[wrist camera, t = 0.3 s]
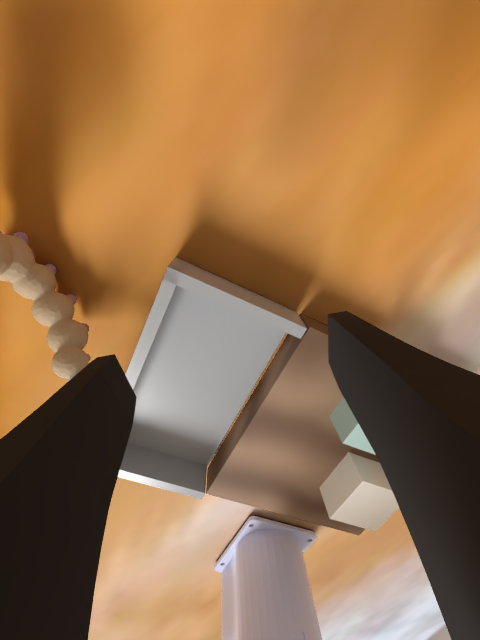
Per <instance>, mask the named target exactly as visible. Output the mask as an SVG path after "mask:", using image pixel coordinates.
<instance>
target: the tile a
mask: <svg viewBox="0 0 480 640" xmlns="http://www.w3.org/2000/svg"><path fill="white" fill-rule="evenodd" d="M320 491H321V494H322V497H323V500H324V503H325V506H326V509H327V512H328V515H329V518H330V519H332V520H336V521H340V522H343V523H347V524H350V525H354V526H357V527H361V528H364V529H368V530H372V531H375V532H376V531H377V530H378V529H379V528H380V527H381V526H382V525H383V524H384V523H385V522H386V521H387V520H388V519H389V518H390V517H391V516H392V515H393V514H394V513H395V512H396V510H397V509H398V508H399V505H398V503H397V501H396V498H395V496H394V494H393V491H392V489H391V487H390V485H389V482H388V480H387V478H386V476H385V473H384V471H383V469H382V467H381V464H380V463H379V462H376V461H373V460H370V459H367V458H364V457H361V456H358V455H356V454H353V453H350V452H348V453H347V454H346V456H345V457H344V458H343V459H342V461H341V462H340V463H339V464H338V466H337V467H336V468H335V469H334V470H333V472H332V473H331V474H330V475H329V477H328V478H327V479H326V480H325V481H324V483H323V484H322V485H321V486H320Z"/></svg>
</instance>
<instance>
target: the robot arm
mask: <svg viewBox="0 0 480 640" xmlns="http://www.w3.org/2000/svg"><path fill="white" fill-rule="evenodd" d="M328 362H329V365H330V367H331V370H332V373H333V375H334V378H335V380H336V382H337V385H338V387H339V389H340V391H341V393H342V395H343V397H344V398H345V400H346V402H347V404H348V406H349V408H350V409H351V411H352V413H353V415H354V416H355V418H356V420H357V422H358V424H359V425H360V427H361V429H362V431H363V432H364V434H365V436H366V438H367V440H368V441H369V443H370V445H371V447H372V448H373V450H374V452H375V454H376V456H377V458H378V460H379V462H380V464H381V467H382V469H383V471H384V473H385V476H386V478H387V480H388V482H389V485H390V487H391V489H392V491H393V494H394V496H395V498H396V501H397V503H398V505H399V508H400V510H401V513H402V515H403V517H404V520H405V522H406V524H407V527H408V529H409V531H410V534H411V536H412V539H413V541H414V544H415V546H416V549H417V551H418V554H419V556H420V559H421V561H422V564H423V566H424V569H425V571H426V574H427V576H428V579H429V581H430V584H431V587H432V589H433V592H434V594H435V597H436V600H437V602H438V605H439V608H440V610H441V613H442V616H443V618H444V621H445V623H446V626H447V628H448V631H449V634H450V637H451V639H452V640H480V375H478V374H475V373H473V372H470V371H468V370H465V369H462V368H460V367H457V366H455V365H452V364H450V363H448V362H445V361H443V360H441V359H438V358H436V357H434V356H432V355H430V354H428V353H426V352H423V351H421V350H419V349H417V348H415V347H413V346H411V345H409V344H407V343H405V342H403V341H401V340H399V339H397V338H395V337H393V336H391V335H390V334H388V333H386V332H384V331H382V330H380V329H379V328H377V327H375V326H373V325H371V324H370V323H368V322H366V321H364V320H362V319H361V318H359V317H357V316H355V315H353V314H351V313H349V312H347V311H344V312H339V313H334V314H328ZM136 398H137V397H136V395H135V393H134V391H133V389H132V387H131V385H130V383H129V381H128V379H127V377H126V376H125V374H124V372H123V370H122V368H121V366H120V364H119V362H118V360H117V358H116V356H115V354H114V355H109V356H103V357H98V358H96V359H94V360H93V361H92V362H90V363H89V364H88V365H87V366H86V367H84V368H83V369H82V370H81V371H80V372H79V373H77V374H76V375H75V376H74V377H73V378H72V379H71V380H69V381H68V382H67V383H66V384H65V385H64V386H63V387H62V388H60V389H59V390H58V391H57V392H56V393H55V394H54V395H53V396H51V397H50V398H49V399H48V400H47V401H46V402H45V403H44V404H42V405H41V406H40V407H39V408H38V409H37V410H35V411H34V412H33V413H32V414H31V415H29V416H28V417H27V418H26V419H25V420H23V421H22V422H21V423H20V424H19V425H17V426H16V427H15V428H14V429H13V430H11V431H10V432H9V433H8V434H7V435H5V436H4V437H3V438H1V439H0V640H88V632H89V625H90V618H91V610H92V603H93V596H94V588H95V582H96V576H97V570H98V564H99V558H100V552H101V546H102V541H103V536H104V530H105V525H106V520H107V515H108V510H109V506H110V502H111V498H112V494H113V490H114V487H115V484H116V480H117V477H118V474H119V470H120V467H121V464H122V460H123V457H124V453H125V450H126V447H127V443H128V440H129V436H130V433H131V429H132V425H133V420H134V414H135V406H136ZM316 537H317V536H316V533H315V532H313V531H310V530H306V529H302V528H298V527H295V526H291V525H287V524H283V523H280V522H276V521H272V520H268V519H265V518H261V517H257V516H251V517H249V518H248V520H247V521H246V523H245V524H244V525H243V527H242V528H241V529H240V531H239V532H238V534H237V535H236V536H235V538H234V539H233V540H232V542H231V543H230V544H229V546H228V547H227V549H226V550H225V551H224V553H223V554H222V555H221V557H220V558H219V560H218V561H217V562H216V564H215V565H214V570H215V571H217V572H222V640H322V637H321V632H320V628H319V623H318V619H317V615H316V610H315V606H314V601H313V597H312V592H311V588H310V583H309V579H308V574H307V570H306V566H305V561H304V557H303V553H304V551H305V550H306V549H307V548H308V547H309V546H310V545H311V544H312V542H313V541H314V540H315V539H316Z"/></svg>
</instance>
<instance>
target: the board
mask: <svg viewBox="0 0 480 640" xmlns="http://www.w3.org/2000/svg"><path fill="white" fill-rule="evenodd" d="M299 317H300V318H301V320H302V321H303V323H304V325H305V326H306V328H307V330H306V331H305V333H304V334H303V336H302V338H301V339H300V338H297V337H295V336H293V335H290V334H288V336H287V337H286V339H285V341H284V342H283V344H282V346H281V347H280V349H279V351H278V352H277V354H276V356H275V357H274V359H273V361H272V362H271V364H270V366H269V367H268V369H267V371H266V372H265V374H264V376H263V377H262V379H261V381H260V382H259V384H258V386H257V387H256V389H255V391H254V392H253V394H252V396H251V397H250V399H249V401H248V402H247V404H246V406H245V407H244V409H243V411H242V412H241V414H240V416H239V417H238V419H237V421H236V422H235V424H234V426H233V427H232V429H231V431H230V432H229V434H228V436H227V437H226V439H225V441H224V442H223V444H222V446H221V447H220V449H219V451H218V452H217V454H216V456H215V457H214V459H213V461H212V463H211V464H210V466H209V468H208V471H207V488H206V494H209V495H213V496H217V497H220V498H224V499H228V500H231V501H235V502H239V503H242V504H246V505H250V506H253V507H257V508H261V509H264V510H268V511H272V512H275V513H279V514H282V515H286V516H290V517H293V518H297V519H301V520H304V521H308V522H312V523H315V524H319V525H323V526H326V527H330V528H334V529H337V530H341V531H345V532H348V533H352V534H356V535H360V534H361V533H362V532H363V531H364V530H365V529H364V528H361V527H357V526H354V525H350V524H347V523H343V522H340V521H336V520H332V519H330V518H329V515H328V512H327V509H326V506H325V503H324V500H323V497H322V494H321V491H320V486H321V485H322V484H323V483H324V481H325V480H326V479H327V478H328V477H329V475H330V474H331V473H332V472H333V470H334V469H335V468H336V467H337V466H338V464H339V463H340V462H341V461H342V459H343V458H344V457H345V456H346V454H347V453H348V452H350V453H353V454H356V455H358V456H361V457H364V458H367V459H370V460H373V461H376V462H379V460H378V458H377V456H376V455H374V454H372V453H369V452H366V451H363V450H360V449H357V448H355V447H352V446H349V445H346V444H343V443H342V441H341V439H340V437H339V435H338V433H337V431H336V429H335V427H334V425H333V423H332V421H331V419H330V417H329V416H330V415H331V413H332V412H333V411H334V409H335V408H336V406H337V405H338V404H339V402H340V401H341V400H342V398H343V395H342V393H341V391H340V389H339V387H338V385H337V382H336V380H335V378H334V375H333V373H332V370H331V367H330V365H329V362H328V326H327V325H325V324H323V323H320V322H318V321H316V320H314V319H312V318H309V317H307V316H305V315H303V314H300V315H299ZM379 463H380V462H379Z"/></svg>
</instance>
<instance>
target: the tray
mask: <svg viewBox="0 0 480 640" xmlns="http://www.w3.org/2000/svg"><path fill="white" fill-rule="evenodd" d="M306 330H307V328H306V326H305V325H304V323H303V321H302V320H301V318H300V317H299V315H298V314H297V312H296V311H294V310H292V309H290V308H287V307H285V306H283V305H281V304H279V303H276V302H274V301H272V300H270V299H268V298H266V297H263V296H261V295H259V294H257V293H255V292H252V291H250V290H248V289H246V288H244V287H241V286H239V285H237V284H235V283H233V282H230V281H228V280H226V279H224V278H222V277H219V276H217V275H215V274H213V273H211V272H208V271H206V270H204V269H202V268H200V267H197V266H195V265H193V264H191V263H189V262H186V261H184V260H182V259H180V258H178V257H175V259H174V260H173V261H172V262H171V264H170V265H169V266H168V268H167V270H166V273H165V276H164V278H163V281H162V283H161V286H160V288H159V291H158V293H157V296H156V298H155V301H154V304H153V306H152V309H151V311H150V314H149V316H148V319H147V321H146V324H145V326H144V329H143V331H142V334H141V337H140V339H139V342H138V344H137V347H136V349H135V352H134V354H133V357H132V359H131V362H130V365H129V367H128V370H127V372H126V375H125V376H126V377H127V379H128V381H129V383H130V385H131V387H132V389H133V391H134V393H135V395H136V397H137V398H136V406H135V414H134V420H133V425H132V429H131V433H130V436H129V440H128V443H127V447H126V450H125V453H124V457H123V460H122V464H121V467H120V470H119V474H118V477H120V478H124V479H127V480H131V481H135V482H139V483H142V484H146V485H150V486H154V487H157V488H161V489H165V490H169V491H172V492H176V493H180V494H183V495H187V496H191V497H195V498H198V499H202V497H203V496H204V494H205V487H206V471H207V465H208V463H209V461H210V460H211V458H212V456H213V454H214V453H215V451H216V449H217V448H218V446H219V444H220V443H221V441H222V439H223V438H224V436H225V434H226V433H227V431H228V429H229V428H230V426H231V424H232V422H233V421H234V419H235V417H236V416H237V414H238V412H239V411H240V409H241V407H242V406H243V404H244V402H245V401H246V399H247V397H248V396H249V394H250V392H251V391H252V389H253V387H254V385H255V384H256V382H257V380H258V379H259V377H260V375H261V374H262V372H263V370H264V369H265V367H266V365H267V364H268V362H269V360H270V359H271V357H272V355H273V353H274V352H275V350H276V348H277V347H278V345H279V343H280V342H281V340H282V338H283V337H284V335H285V333H288V334H290V335H293V336H295V337H297V338H300V339H301V338H302V336H303V334H304V333H305V331H306Z"/></svg>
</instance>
